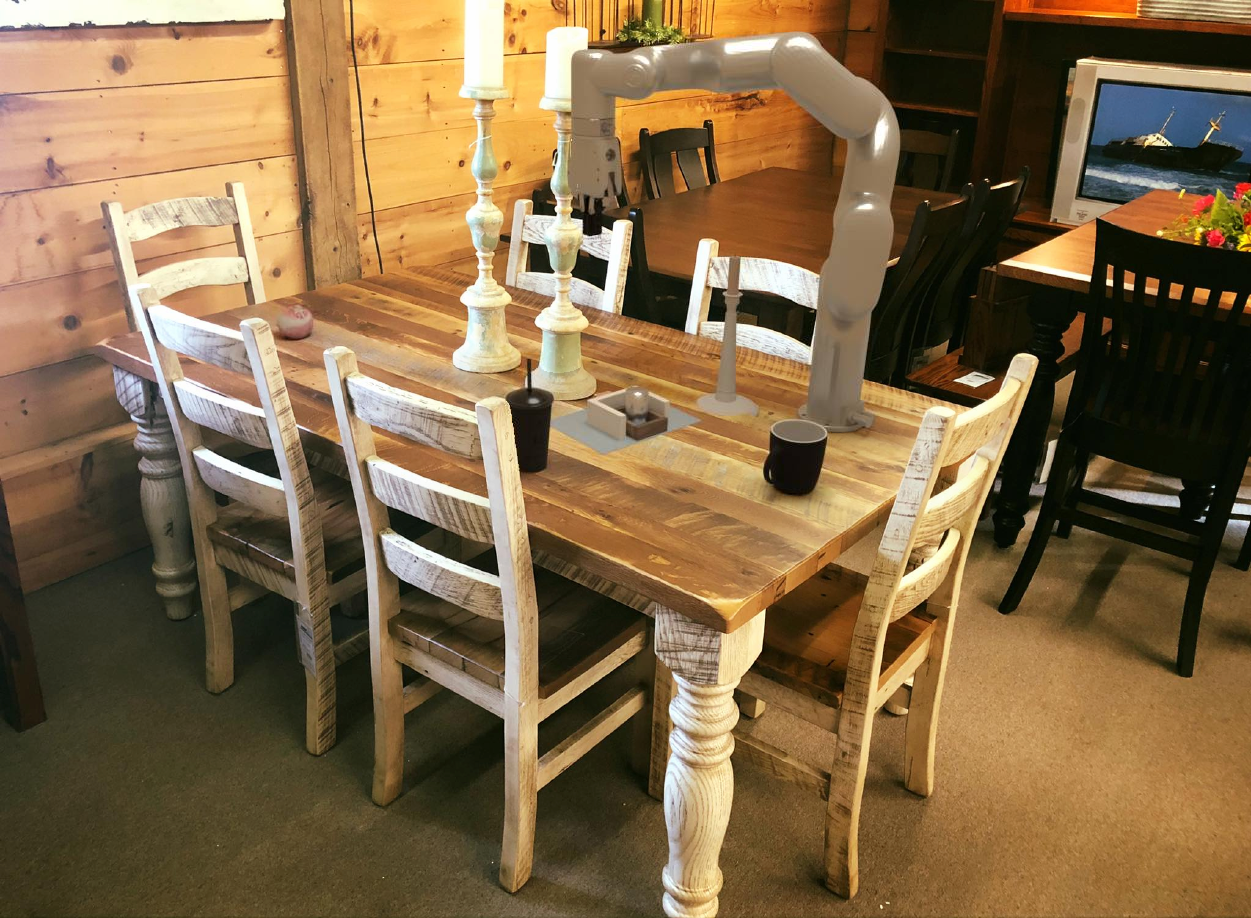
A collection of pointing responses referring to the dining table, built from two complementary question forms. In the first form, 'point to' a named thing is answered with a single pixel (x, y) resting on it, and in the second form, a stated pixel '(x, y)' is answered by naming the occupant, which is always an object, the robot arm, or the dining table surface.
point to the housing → (613, 420)
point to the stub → (637, 405)
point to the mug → (795, 456)
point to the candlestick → (729, 357)
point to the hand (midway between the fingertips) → (592, 234)
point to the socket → (645, 425)
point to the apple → (295, 322)
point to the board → (603, 442)
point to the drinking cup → (531, 424)
